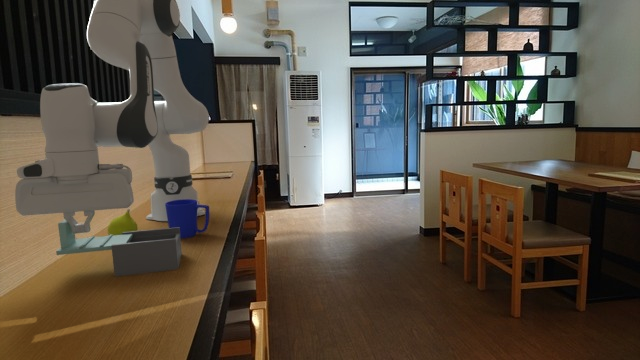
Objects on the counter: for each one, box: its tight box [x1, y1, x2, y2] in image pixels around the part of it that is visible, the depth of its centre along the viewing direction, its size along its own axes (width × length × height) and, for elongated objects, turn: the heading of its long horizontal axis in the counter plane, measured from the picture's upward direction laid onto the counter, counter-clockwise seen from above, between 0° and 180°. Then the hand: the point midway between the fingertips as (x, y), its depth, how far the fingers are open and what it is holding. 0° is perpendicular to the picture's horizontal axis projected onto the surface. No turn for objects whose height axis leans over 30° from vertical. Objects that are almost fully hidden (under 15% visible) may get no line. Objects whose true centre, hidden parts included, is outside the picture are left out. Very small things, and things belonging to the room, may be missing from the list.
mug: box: [165, 199, 210, 239], centre depth 103 cm, size 8×12×10 cm
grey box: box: [111, 227, 183, 278], centre depth 82 cm, size 10×12×7 cm
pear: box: [107, 208, 139, 236], centre depth 101 cm, size 7×7×10 cm
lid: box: [55, 219, 133, 256], centre depth 78 cm, size 8×12×6 cm
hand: (81, 232), depth 77 cm, fingers closed
